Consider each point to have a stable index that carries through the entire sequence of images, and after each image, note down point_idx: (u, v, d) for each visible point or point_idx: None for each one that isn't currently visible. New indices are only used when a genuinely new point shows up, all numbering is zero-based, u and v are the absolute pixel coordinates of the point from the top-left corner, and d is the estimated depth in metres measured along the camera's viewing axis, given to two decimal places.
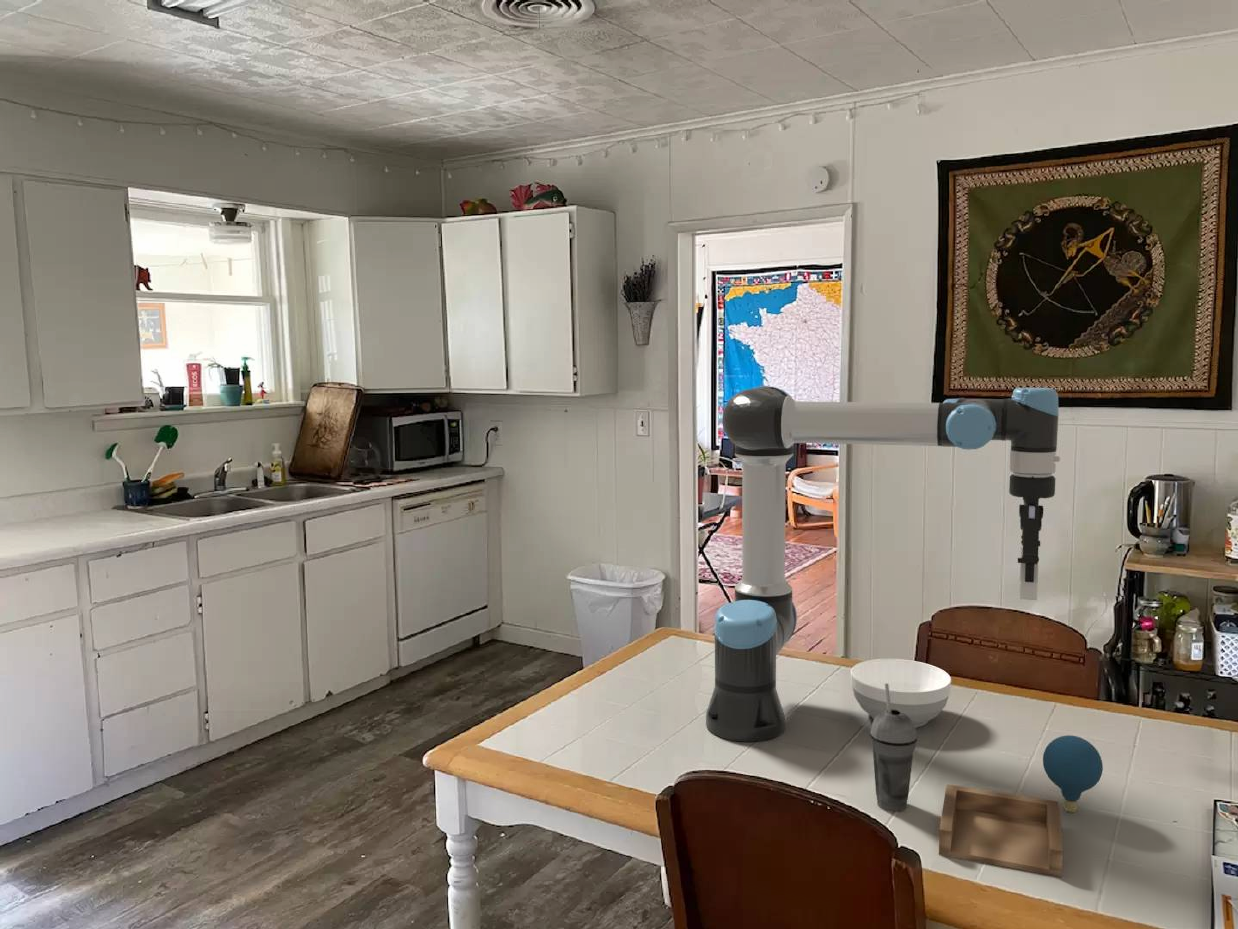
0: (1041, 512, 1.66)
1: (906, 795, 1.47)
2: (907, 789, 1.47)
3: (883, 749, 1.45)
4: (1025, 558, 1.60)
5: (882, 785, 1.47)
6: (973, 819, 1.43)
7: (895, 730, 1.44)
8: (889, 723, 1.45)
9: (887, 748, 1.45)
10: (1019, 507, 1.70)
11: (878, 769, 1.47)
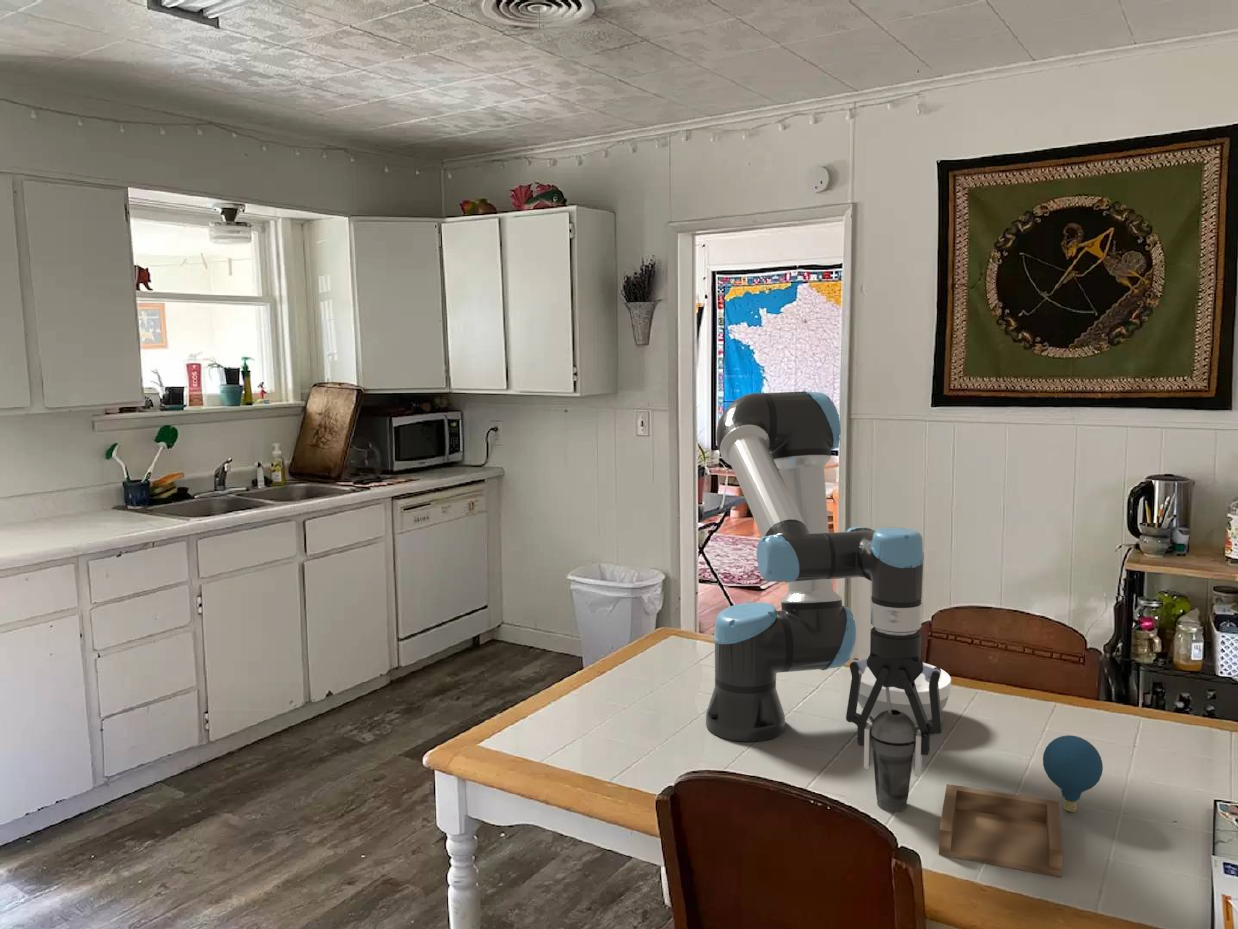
0: (879, 672, 1.45)
1: (906, 795, 1.47)
2: (907, 789, 1.47)
3: (883, 749, 1.45)
4: None
5: (882, 784, 1.47)
6: (973, 819, 1.43)
7: (895, 730, 1.44)
8: (889, 723, 1.45)
9: (887, 748, 1.45)
10: None
11: (878, 769, 1.47)
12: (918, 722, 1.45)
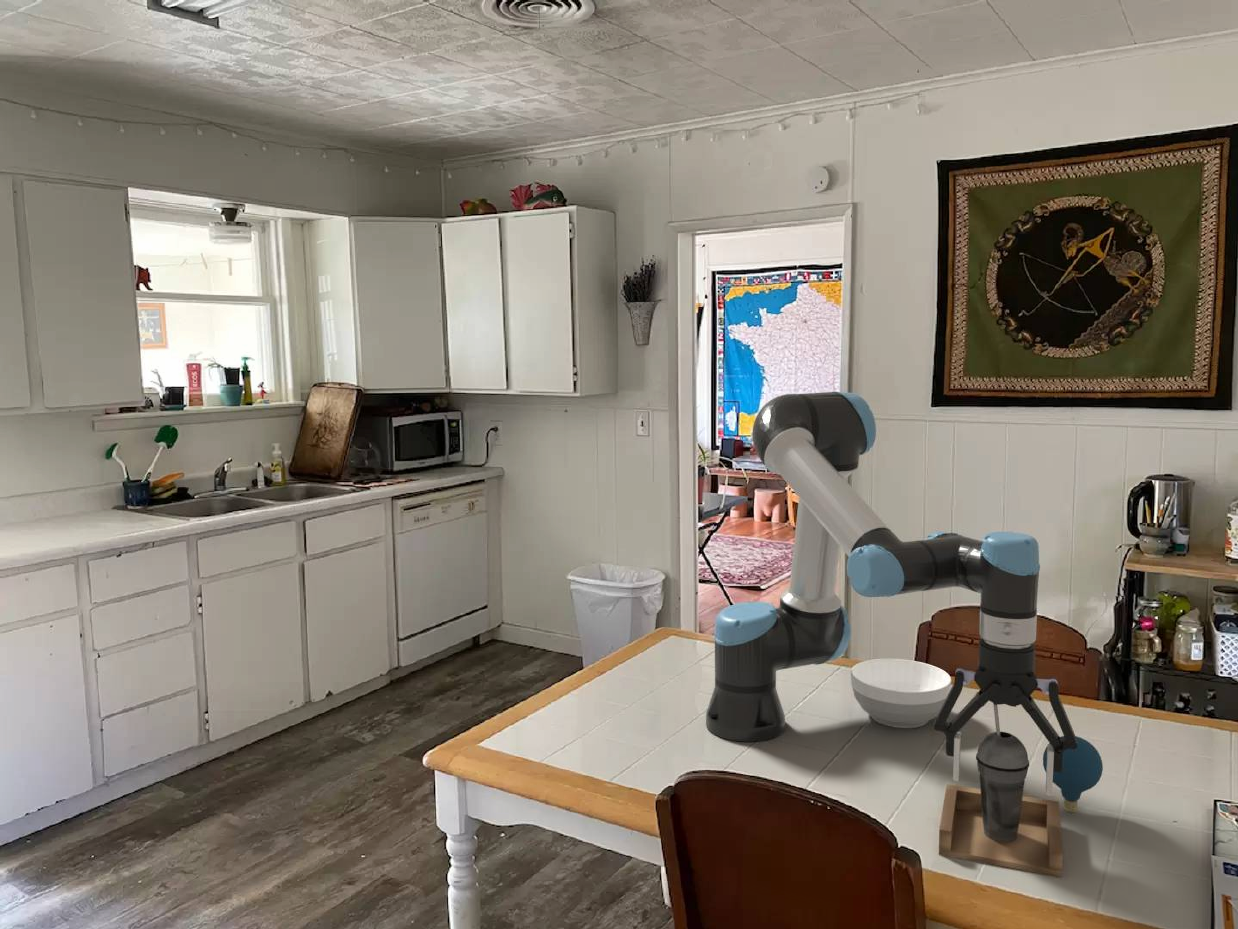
0: (989, 687, 1.35)
1: (1017, 824, 1.36)
2: (1018, 818, 1.36)
3: (993, 775, 1.34)
4: (935, 721, 1.40)
5: (991, 813, 1.36)
6: (973, 819, 1.43)
7: (1007, 755, 1.33)
8: (999, 747, 1.34)
9: (998, 774, 1.34)
10: None
11: (986, 796, 1.36)
12: (1048, 738, 1.33)
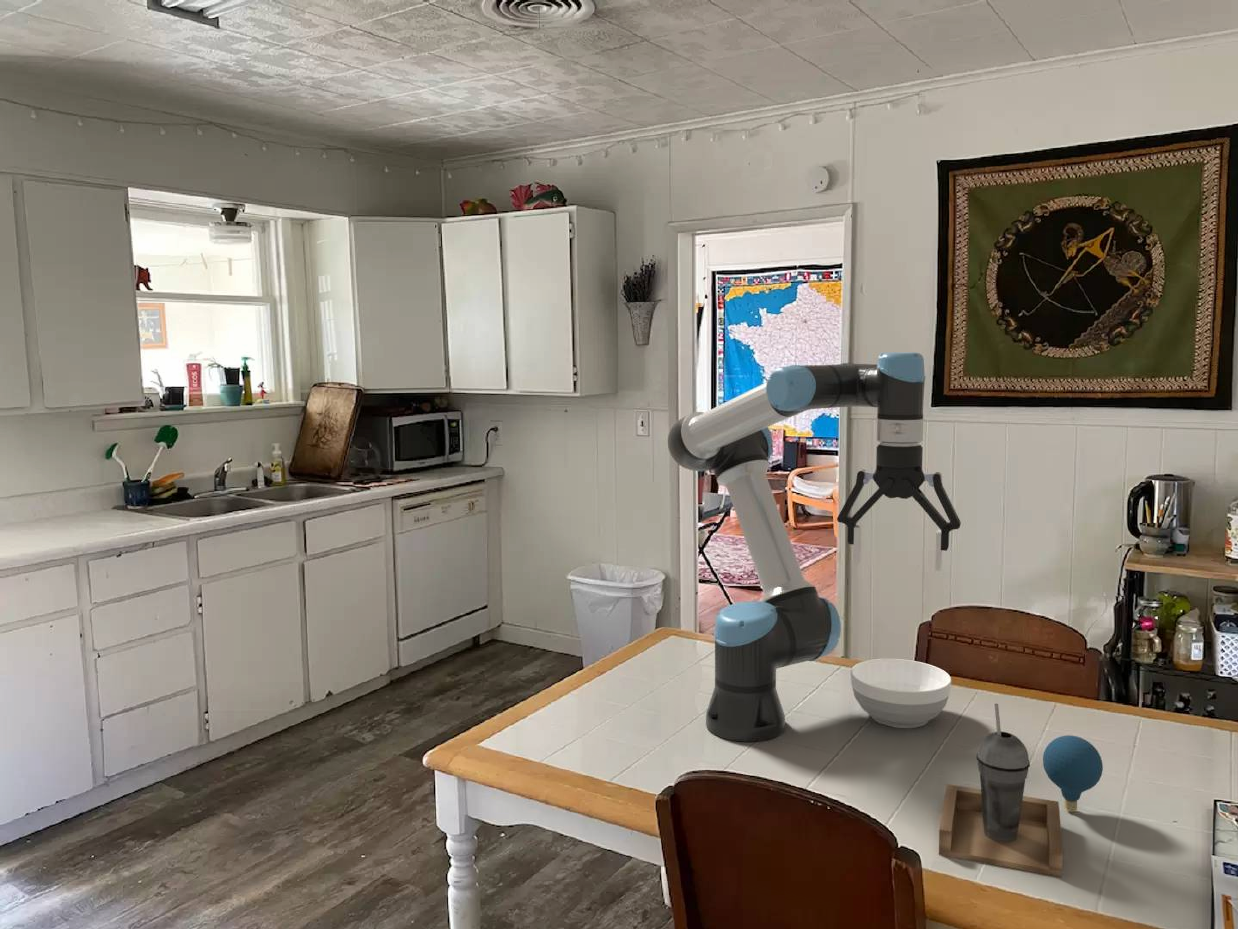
0: (884, 482, 1.59)
1: (1017, 824, 1.36)
2: (1018, 818, 1.36)
3: (994, 775, 1.34)
4: None
5: (991, 813, 1.36)
6: (973, 819, 1.43)
7: (1007, 755, 1.33)
8: (1000, 746, 1.34)
9: (998, 774, 1.34)
10: None
11: (987, 796, 1.36)
12: (935, 521, 1.57)
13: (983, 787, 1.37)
